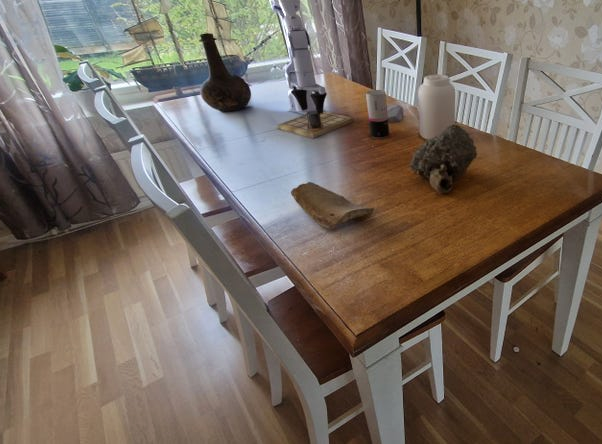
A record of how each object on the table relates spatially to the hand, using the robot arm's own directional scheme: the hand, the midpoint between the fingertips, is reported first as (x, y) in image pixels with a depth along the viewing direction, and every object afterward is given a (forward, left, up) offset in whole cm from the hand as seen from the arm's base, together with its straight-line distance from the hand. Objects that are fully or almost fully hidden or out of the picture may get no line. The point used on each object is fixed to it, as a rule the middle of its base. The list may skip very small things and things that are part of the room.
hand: (312, 111), depth 132 cm
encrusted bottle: (+60, -11, -7) cm, 61 cm away
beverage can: (+23, +8, -7) cm, 25 cm away
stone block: (+14, +24, -7) cm, 29 cm away
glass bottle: (-49, 0, -7) cm, 49 cm away
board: (-4, +4, -7) cm, 9 cm away
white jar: (+40, +19, -7) cm, 45 cm away
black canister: (0, 0, -5) cm, 5 cm away
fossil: (+45, -38, -7) cm, 59 cm away
